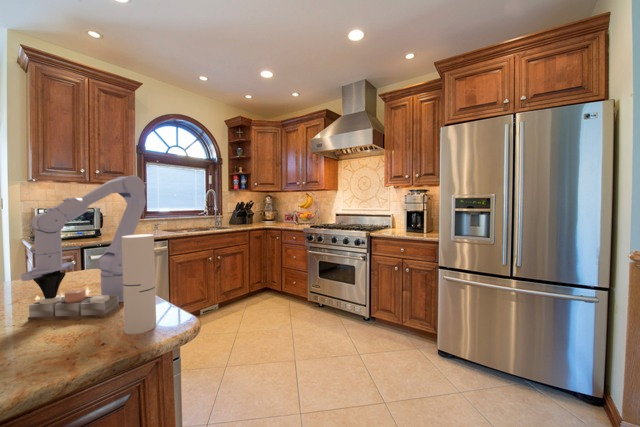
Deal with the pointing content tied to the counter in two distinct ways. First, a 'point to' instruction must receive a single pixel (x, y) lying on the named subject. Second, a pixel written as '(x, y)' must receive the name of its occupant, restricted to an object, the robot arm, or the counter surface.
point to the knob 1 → (50, 300)
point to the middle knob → (75, 296)
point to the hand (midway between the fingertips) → (50, 298)
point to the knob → (99, 298)
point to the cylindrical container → (138, 283)
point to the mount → (73, 309)
